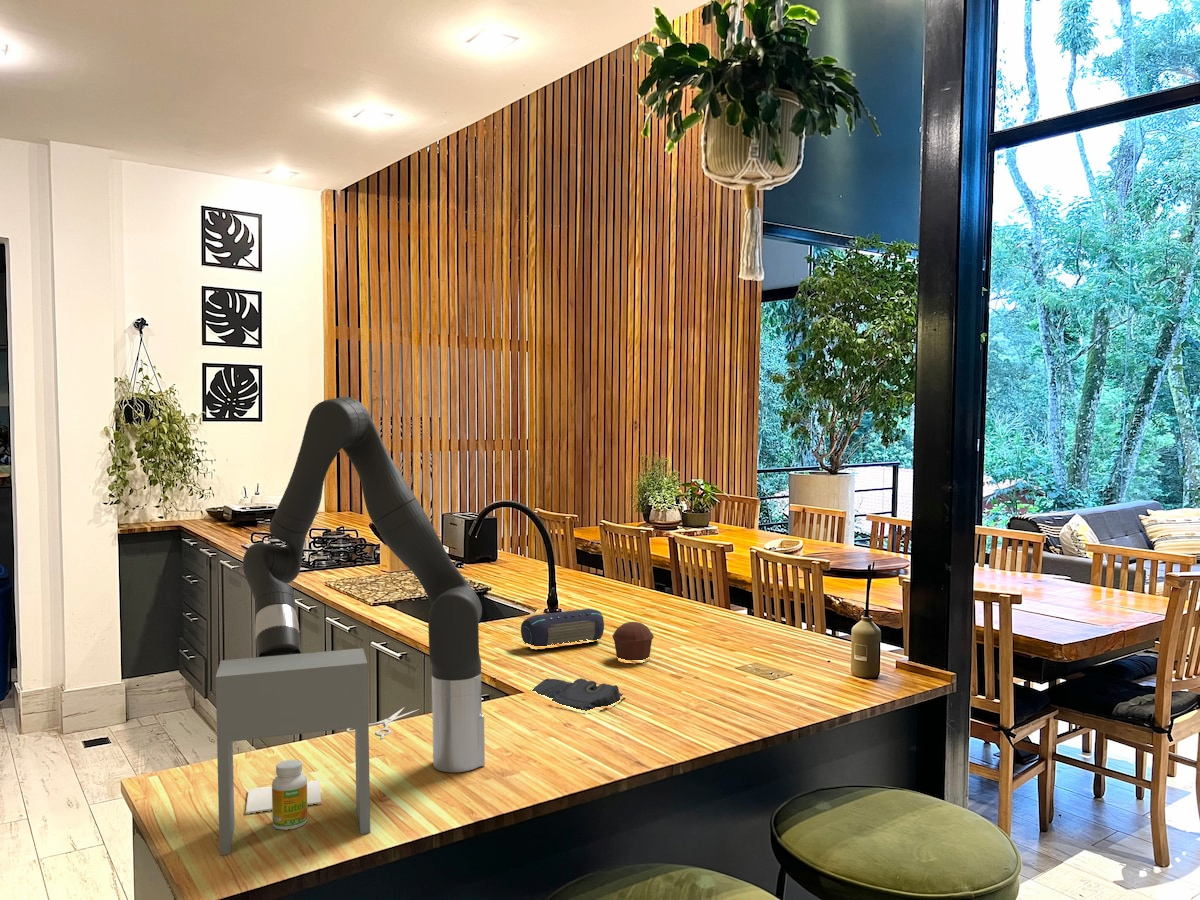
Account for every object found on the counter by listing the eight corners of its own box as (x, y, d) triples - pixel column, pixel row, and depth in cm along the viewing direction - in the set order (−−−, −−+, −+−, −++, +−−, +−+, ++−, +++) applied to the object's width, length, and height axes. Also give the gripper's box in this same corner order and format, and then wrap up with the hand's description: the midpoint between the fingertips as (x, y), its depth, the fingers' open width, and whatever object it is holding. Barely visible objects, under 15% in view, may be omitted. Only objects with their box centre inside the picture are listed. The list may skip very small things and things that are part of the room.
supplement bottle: (283, 834, 142) (282, 773, 142) (266, 824, 146) (265, 764, 145) (314, 822, 146) (313, 763, 146) (296, 813, 150) (295, 755, 150)
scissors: (339, 732, 188) (393, 703, 207) (339, 736, 188) (393, 706, 207) (382, 738, 185) (433, 708, 203) (382, 742, 185) (433, 711, 203)
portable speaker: (532, 655, 251) (531, 620, 251) (517, 648, 260) (517, 613, 260) (610, 644, 263) (610, 610, 263) (594, 637, 272) (593, 604, 272)
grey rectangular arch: (365, 804, 153) (362, 646, 152) (370, 832, 142) (367, 663, 141) (225, 824, 146) (221, 658, 145) (219, 855, 135) (215, 676, 134)
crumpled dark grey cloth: (557, 685, 223) (557, 666, 223) (631, 700, 211) (631, 680, 210) (517, 701, 211) (516, 681, 211) (593, 718, 198) (593, 697, 198)
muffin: (646, 667, 238) (646, 629, 238) (606, 663, 241) (606, 626, 241) (658, 656, 249) (658, 620, 249) (620, 653, 253) (620, 617, 252)
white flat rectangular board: (319, 782, 163) (319, 779, 163) (321, 804, 153) (321, 801, 153) (248, 791, 159) (248, 789, 159) (245, 814, 149) (245, 812, 149)
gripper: (235, 627, 159) (239, 711, 149) (319, 620, 165) (328, 699, 155) (235, 650, 164) (238, 732, 154) (316, 642, 170) (325, 721, 160)
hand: (283, 716), depth 154 cm, fingers open, 8 cm apart
